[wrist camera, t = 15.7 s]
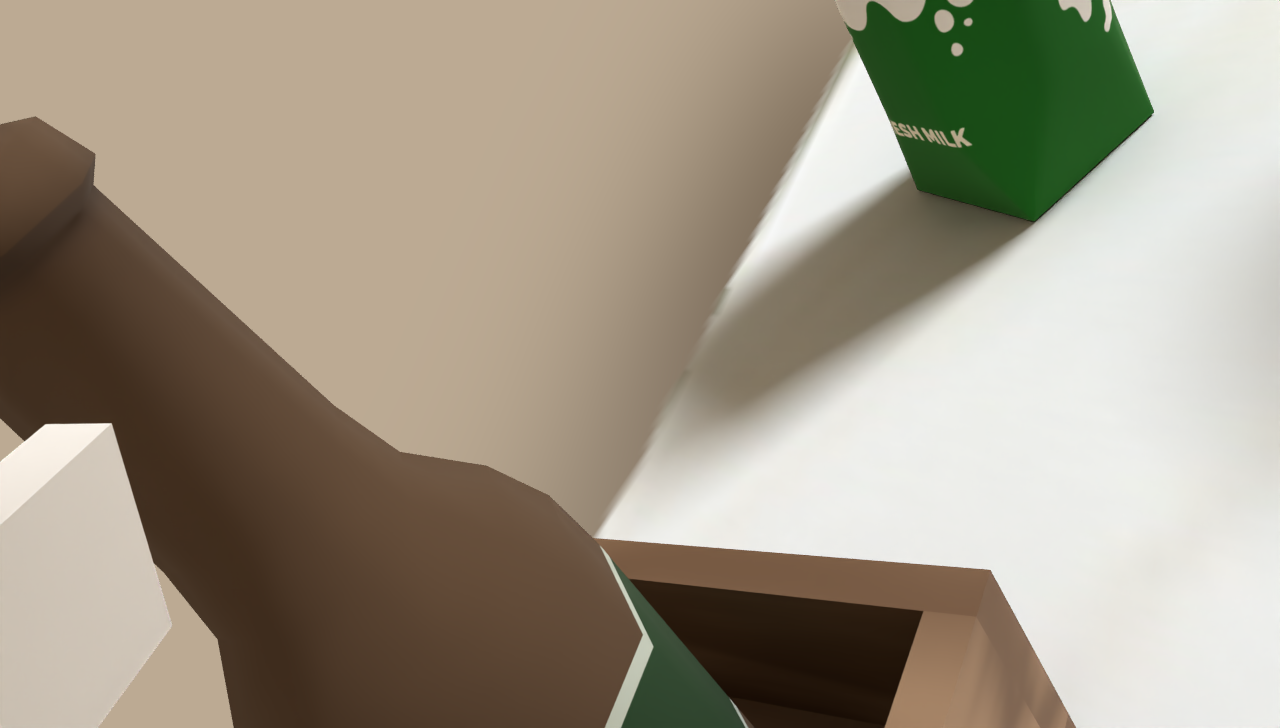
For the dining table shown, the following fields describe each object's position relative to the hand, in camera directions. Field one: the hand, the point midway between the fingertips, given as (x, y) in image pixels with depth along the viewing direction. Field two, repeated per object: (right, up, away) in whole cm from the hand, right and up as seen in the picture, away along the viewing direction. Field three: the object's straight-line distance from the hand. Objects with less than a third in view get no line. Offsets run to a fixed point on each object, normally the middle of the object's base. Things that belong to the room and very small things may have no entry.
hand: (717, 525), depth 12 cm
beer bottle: (+1, -13, +16) cm, 20 cm away
